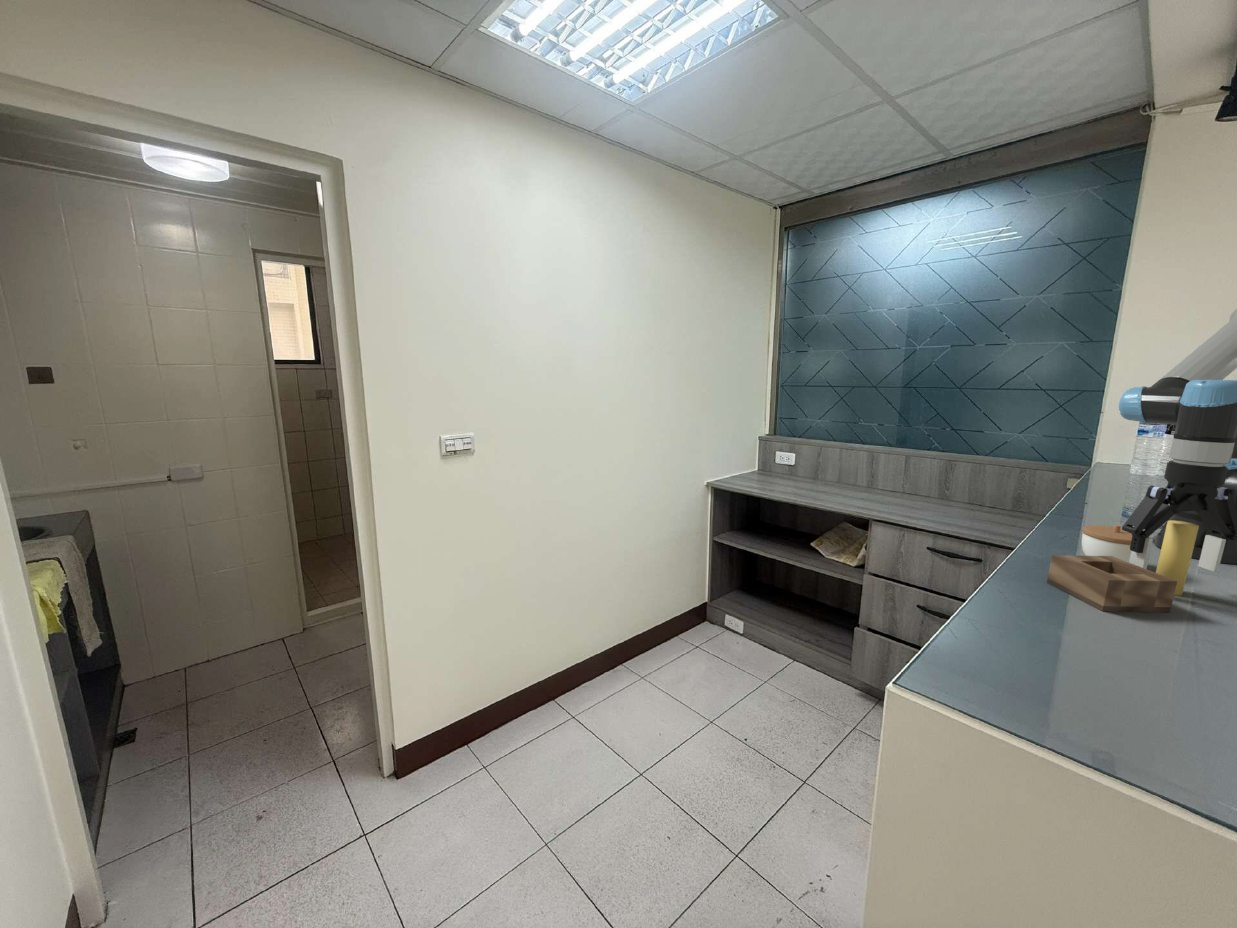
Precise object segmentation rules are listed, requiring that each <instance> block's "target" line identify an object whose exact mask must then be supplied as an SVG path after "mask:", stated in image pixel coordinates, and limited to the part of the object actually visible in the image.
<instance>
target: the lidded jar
mask: <svg viewBox="0 0 1237 928" xmlns="http://www.w3.org/2000/svg"><path fill="white" fill-rule="evenodd" d="M1081 530H1082V531H1081V533H1082V535H1081V549H1082V552H1083V553H1084V556H1113V557H1116V558H1118V559H1121V560H1124V561H1126V562H1129V560H1130V555H1131V550H1130V544H1131V540H1132V534H1131V533H1128V532H1126V531H1124V530H1122V527H1121V525H1119V524H1114V525H1113V526H1108V525H1099V524H1098V525H1095V524H1093V525H1092V524H1091V525H1085V526H1083V527H1082V529H1081ZM1149 538H1151V537H1150V536H1149Z"/></svg>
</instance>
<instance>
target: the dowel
mask: <svg viewBox="0 0 1237 928" xmlns="http://www.w3.org/2000/svg"><path fill="white" fill-rule="evenodd" d="M1167 521H1168V520H1167ZM1167 521H1166V522H1167ZM1198 528H1199V526H1198V525H1196V524H1193V523H1188V522H1183V521H1174V520H1170V521H1168V522H1167V526H1166V531H1165V535H1164V539H1163V544H1162V548H1160V553H1159V557H1158V561H1157V566H1156V570H1155V573H1157V574H1160V575H1162V576H1165V577H1167V578H1170V579H1173V580H1175V581H1177V585H1176V589H1175V593H1174V596H1178V597H1180V596H1182V595H1183V592H1184V588H1185V585H1186V580H1187V576H1188V573H1189V569H1190V566H1191V560H1192V558H1191V557H1192V553H1193V549H1194V544H1195V540H1196V536H1197V532H1198Z"/></svg>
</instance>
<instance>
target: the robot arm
mask: <svg viewBox="0 0 1237 928" xmlns="http://www.w3.org/2000/svg"><path fill="white" fill-rule="evenodd" d="M1236 369H1237V308H1235V309H1234V310H1233V312H1232V313H1231V314H1230V316H1229V321H1228V322H1227V323H1226V324H1224V325H1223V326H1222V327H1221V328H1219V329H1218V330H1216V332H1215V333H1214V334H1212V335H1211V336H1210V337H1209V338H1208V339H1206V340H1205V341H1204V342H1202V344H1201V345H1199V346H1198V347H1197V348H1196V349H1194V350H1193V351H1192V352H1191V353H1190V354H1189V355H1188V356H1186V357H1185V358H1184V359H1183V360H1181V361H1180V362H1179V363H1178V364H1176V365H1175V366H1174V367H1173V368H1172V369H1170V370H1169V371H1168V372H1167V373H1166V374H1165V375H1163V376H1162V377H1161V378H1159V380H1157V381H1156V382H1155V383H1153V385H1151V386H1139V387H1138V386H1135V387H1132V388H1129V389H1126V391H1124V392H1123V394H1122V395H1121V397H1120V399H1119V402H1118V411H1119V412H1120V413H1119V415H1121V417H1122V418H1123V419H1125V420H1128V421H1133V422H1139V423H1141V422H1142V423H1144V424H1161V425H1162V424H1163V425H1175V430H1174V434H1173V438H1172V443H1171V445H1170V446H1171V447H1170V451H1169V455H1168V458H1170V459H1171V460H1169V461H1168V462H1167V463H1166V466H1165V471H1164V476H1163V477H1164V480H1166V482H1167V484H1166V486H1165V487H1161V486H1157V485H1156V486H1155V485H1149V486H1148V487H1147V491H1146V492H1145V496H1144V497H1143V499H1142V500H1141V502H1140V503H1139V504H1138V505H1137V506H1136V508H1135V510H1133V512H1132V513H1131V514H1130V516H1129V517H1128V518H1127V520H1126V522H1125V523H1124V524H1123V525H1122V527H1121V528H1122V530H1124V531H1126V532H1128V533H1131V534H1132V540H1131V544H1130V550H1131V555H1130V560H1129V563H1131V564H1134V565H1136V566H1139V567H1142V568H1144V569H1147V570H1148V565H1149V560H1150V555H1151V552H1152V551H1151V550H1152V545H1153V544H1154V545H1155V547H1157V548H1160V549H1161V548H1162V544H1163V539H1164V535H1165V531H1166V526H1167V522H1168V521H1170V520H1174V521H1183V522H1188V523H1193V524H1196V525H1198V526H1199V528H1198V532H1197V536H1196V540H1195V544H1194V549H1193V553H1192V557H1191V559H1192V558H1193V559H1196V560H1199V561H1198V565H1197V566H1198V567H1199V568H1202V569H1205V570H1208V571H1211V572H1213V573H1215V572H1216V573H1218V572H1219V569H1220V565H1221V564H1232V565H1233V564H1234V565H1237V458H1233V457H1232V456H1233V452H1234V448H1235V444H1236V438H1237V379H1225V378H1227V377H1228V376H1230V375H1231V374H1232V372H1233V373H1234V371H1235V370H1236ZM1160 528H1161V529H1160ZM1158 529H1160V531H1159V532H1158V533H1157V534H1156V535H1155V539H1154V538H1152V537H1150V536H1152V534H1154V533H1156V531H1157V530H1158ZM1149 537H1150V538H1149ZM1153 541H1154V542H1153Z"/></svg>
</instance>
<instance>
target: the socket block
mask: <svg viewBox="0 0 1237 928" xmlns="http://www.w3.org/2000/svg"><path fill="white" fill-rule="evenodd" d="M1046 584H1048V585H1050V586H1052V587H1054V588H1056V589H1058V590H1060V591H1062V592H1064V593H1066V594H1067V595H1070V596H1072V597H1074V598H1075V599H1077V600H1080V601H1082V602H1084V603H1086V604H1088V605H1089V606H1092V607H1093V608H1096V609H1097V610H1099V611H1101V612H1133V613H1134V612H1136V613H1171V611H1172V610H1171V609H1172V605H1173V601H1174V596H1175V595H1174V593H1175V589H1176V585H1177V581H1175V580H1173V579H1170V578H1167V577H1165V576H1162V575H1160V574H1157V573H1156V571H1155V572H1154V571H1152V570H1150V569H1148V568H1147V569H1144V568H1142V567H1139V566H1136V565H1134V564H1131V563H1129V562H1126V561H1124V560H1121V559H1118V558H1116V557H1113V556H1086V555H1067V554H1066V555H1061V554H1059V555H1057V554H1055V555H1051V558H1050V563H1049V569H1048V575H1047V581H1046Z"/></svg>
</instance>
